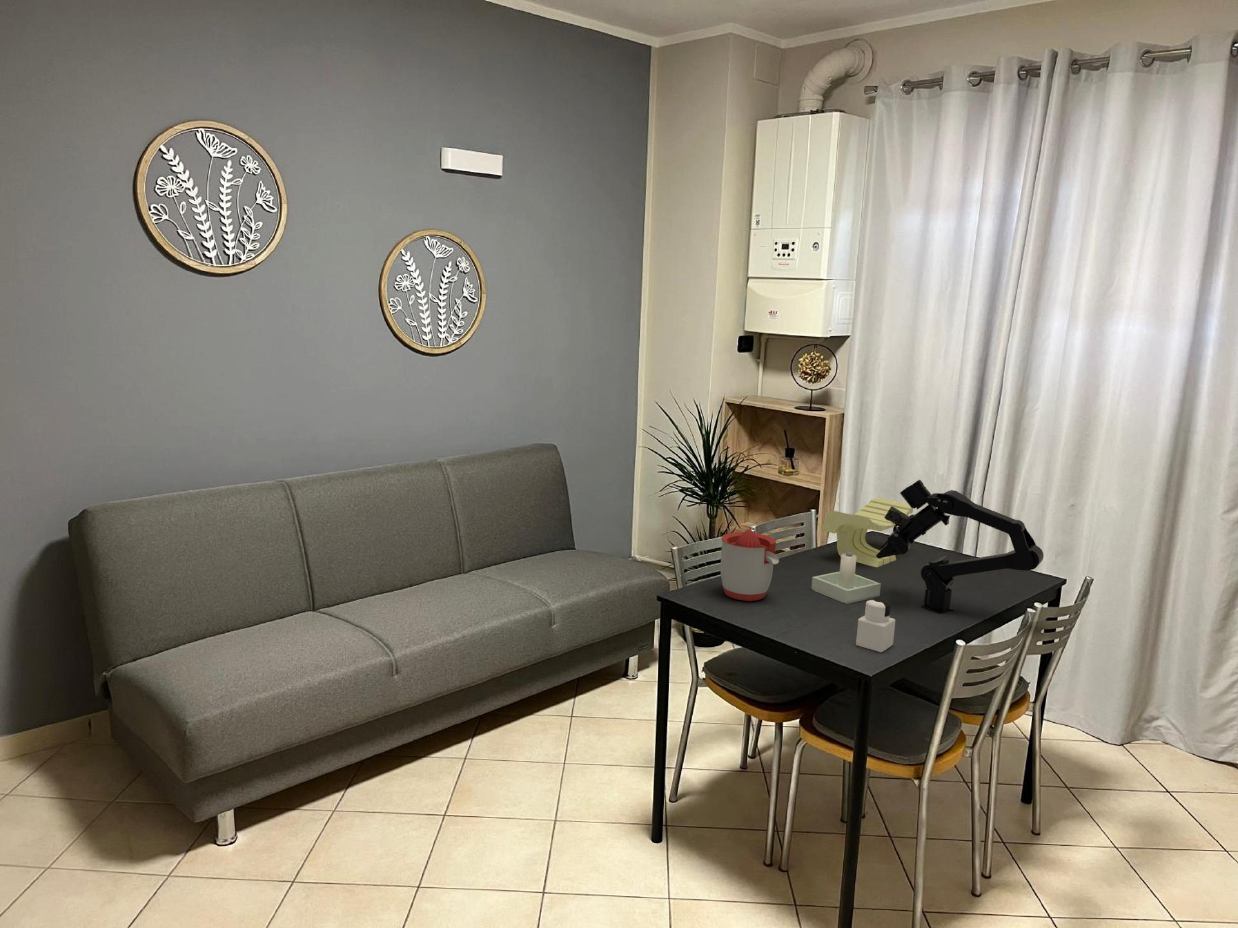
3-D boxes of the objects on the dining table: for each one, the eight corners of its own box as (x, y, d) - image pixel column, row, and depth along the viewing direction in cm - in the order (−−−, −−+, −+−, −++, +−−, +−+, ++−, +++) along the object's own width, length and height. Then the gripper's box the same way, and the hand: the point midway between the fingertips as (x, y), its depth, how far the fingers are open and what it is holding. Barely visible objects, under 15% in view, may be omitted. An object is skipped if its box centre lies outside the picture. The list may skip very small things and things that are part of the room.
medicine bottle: (867, 637, 241) (871, 593, 239) (893, 645, 237) (897, 600, 235) (855, 645, 236) (859, 600, 234) (881, 653, 232) (886, 607, 229)
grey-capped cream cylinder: (855, 593, 274) (858, 554, 271) (840, 593, 273) (844, 554, 271) (850, 588, 278) (854, 550, 276) (836, 588, 278) (839, 550, 275)
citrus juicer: (760, 609, 259) (765, 541, 255) (707, 595, 269) (711, 528, 265) (786, 596, 271) (791, 530, 267) (735, 582, 281) (739, 519, 277)
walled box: (879, 596, 274) (880, 583, 273) (846, 604, 266) (847, 590, 265) (843, 582, 285) (845, 570, 284) (811, 589, 278) (812, 576, 277)
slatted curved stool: (866, 544, 329) (871, 495, 325) (908, 555, 318) (913, 504, 314) (820, 560, 307) (825, 508, 304) (863, 572, 296) (868, 518, 293)
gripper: (907, 493, 274) (866, 524, 280) (899, 506, 257) (855, 539, 263) (932, 522, 272) (890, 553, 278) (926, 537, 255) (881, 569, 262)
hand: (879, 553), depth 270 cm, fingers open, 9 cm apart
